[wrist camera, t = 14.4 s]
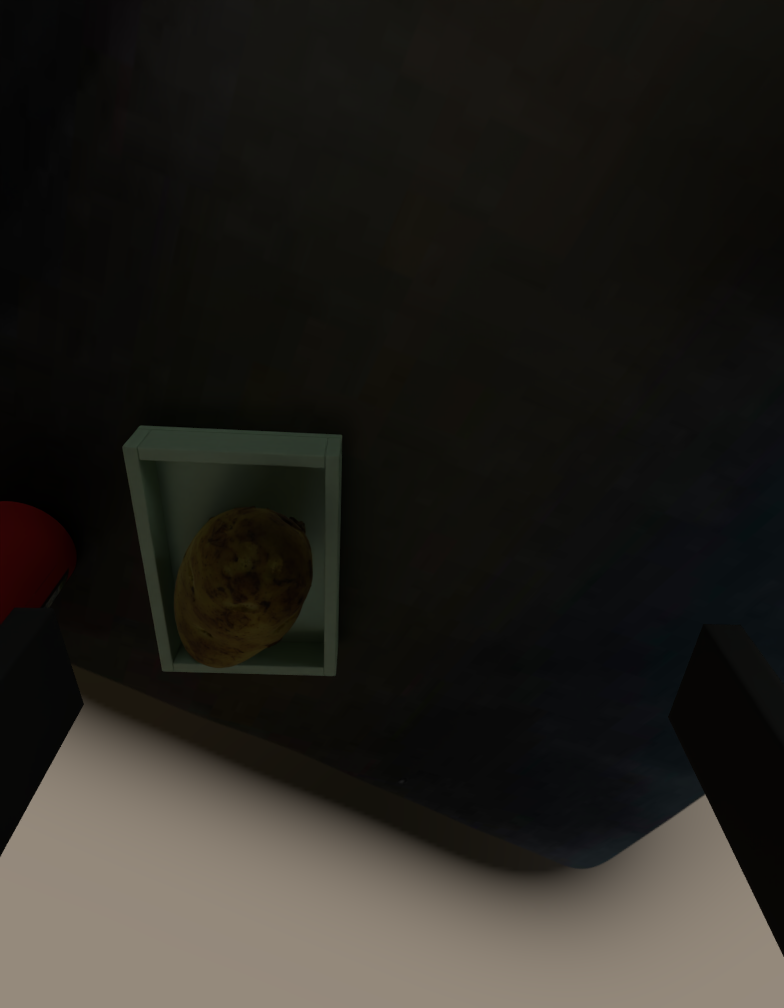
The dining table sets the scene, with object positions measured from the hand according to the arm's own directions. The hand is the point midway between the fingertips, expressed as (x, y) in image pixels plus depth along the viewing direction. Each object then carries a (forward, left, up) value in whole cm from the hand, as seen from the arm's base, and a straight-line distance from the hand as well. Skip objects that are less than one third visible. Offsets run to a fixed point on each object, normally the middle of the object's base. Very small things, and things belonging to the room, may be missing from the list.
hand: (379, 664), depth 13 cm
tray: (+8, +14, -24) cm, 28 cm away
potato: (+8, +14, -23) cm, 28 cm away
